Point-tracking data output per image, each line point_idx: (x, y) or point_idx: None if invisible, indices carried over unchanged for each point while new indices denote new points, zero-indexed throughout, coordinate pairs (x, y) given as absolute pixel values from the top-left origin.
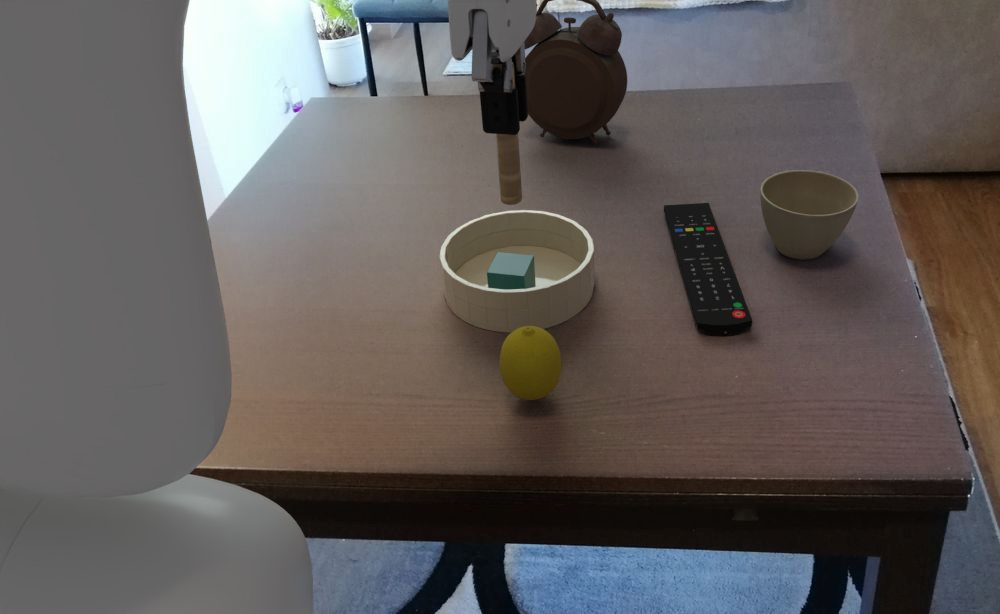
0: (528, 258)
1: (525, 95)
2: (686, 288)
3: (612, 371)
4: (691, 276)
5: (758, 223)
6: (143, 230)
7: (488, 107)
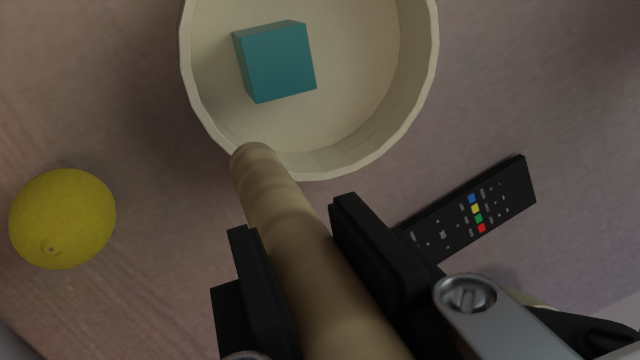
0: (305, 85)
1: None
2: None
3: (181, 246)
4: None
5: (512, 252)
6: None
7: (218, 336)
